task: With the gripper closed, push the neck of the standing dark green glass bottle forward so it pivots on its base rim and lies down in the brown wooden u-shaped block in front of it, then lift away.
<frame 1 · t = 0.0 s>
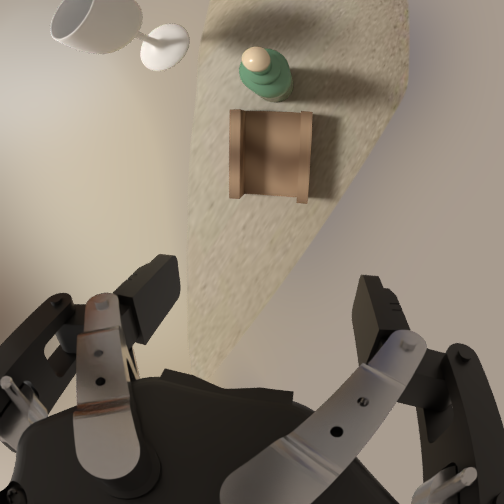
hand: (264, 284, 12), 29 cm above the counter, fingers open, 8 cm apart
bottle: (274, 85, 33), on the counter
brown wooden u-shaped block: (272, 153, 37), on the counter
wineglass: (165, 47, 32), on the counter
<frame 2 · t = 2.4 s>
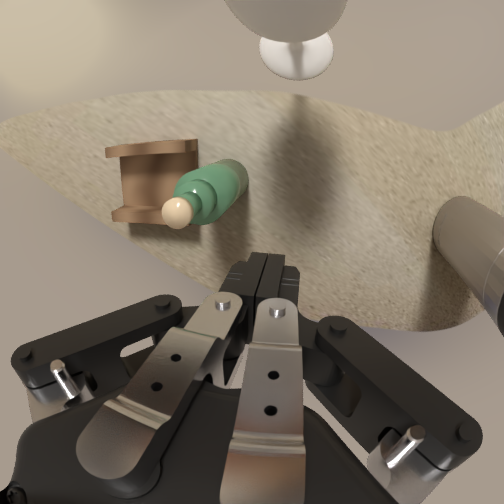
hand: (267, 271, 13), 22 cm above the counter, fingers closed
bottle: (228, 179, 34), on the counter
brown wooden u-shaped block: (157, 178, 36), on the counter
wineglass: (296, 48, 26), on the counter
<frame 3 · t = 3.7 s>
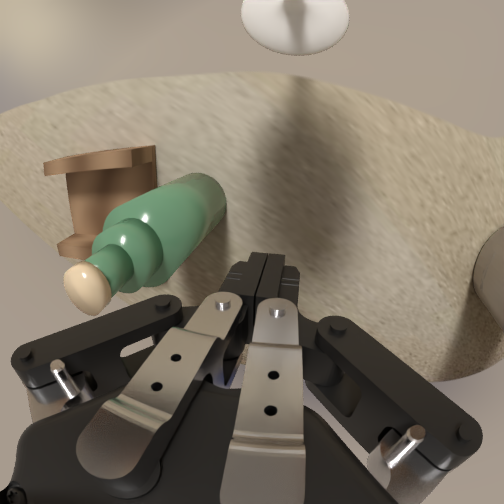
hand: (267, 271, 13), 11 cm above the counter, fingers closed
bottle: (197, 201, 24), on the counter
brown wooden u-shaped block: (109, 200, 25), on the counter
wineglass: (295, 13, 16), on the counter
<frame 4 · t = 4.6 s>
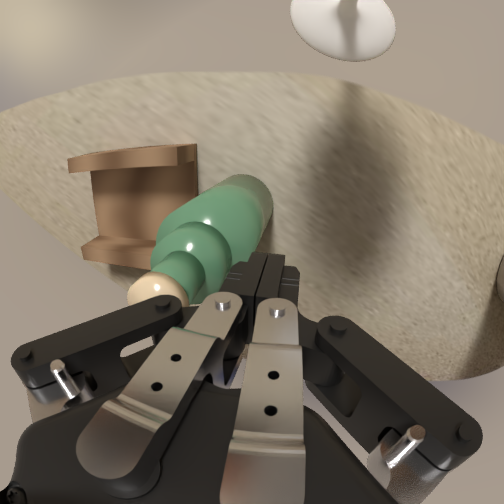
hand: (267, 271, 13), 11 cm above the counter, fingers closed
bottle: (242, 204, 23), on the counter, touching gripper
brown wooden u-shaped block: (141, 200, 25), on the counter
wineglass: (343, 18, 15), on the counter
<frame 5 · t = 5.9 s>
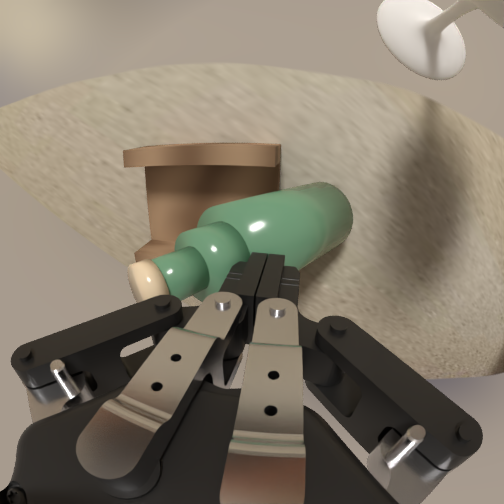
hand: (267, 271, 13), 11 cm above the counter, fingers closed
bottle: (322, 215, 21), point 1 cm above the counter, tilted 32°, touching gripper
brown wooden u-shaped block: (209, 202, 24), on the counter
wineglass: (422, 35, 14), on the counter
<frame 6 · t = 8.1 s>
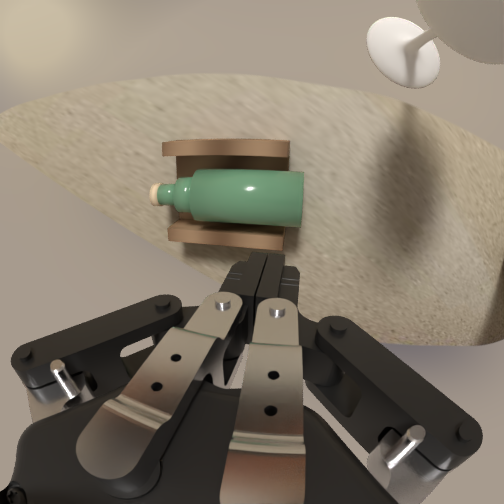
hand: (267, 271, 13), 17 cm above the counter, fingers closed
bottle: (302, 199, 25), point 3 cm above the counter, tilted 90°, touching brown wooden u-shaped block
brown wooden u-shaped block: (230, 186, 29), on the counter
wineglass: (404, 51, 20), on the counter
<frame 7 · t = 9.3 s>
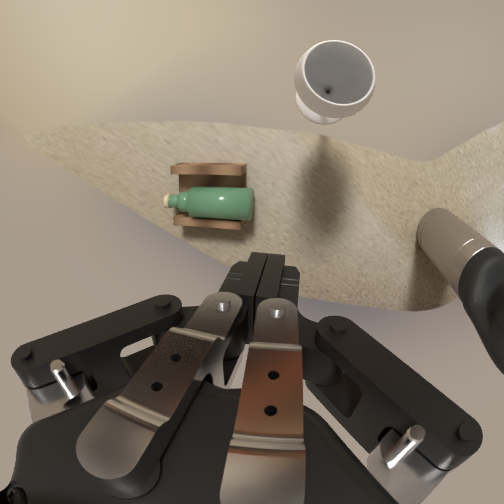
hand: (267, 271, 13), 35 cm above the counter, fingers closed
bottle: (251, 204, 44), point 3 cm above the counter, tilted 90°, touching brown wooden u-shaped block
brown wooden u-shaped block: (212, 192, 48), on the counter
wineglass: (322, 98, 38), on the counter
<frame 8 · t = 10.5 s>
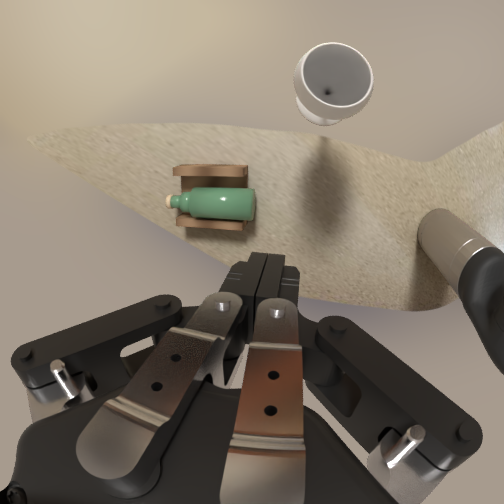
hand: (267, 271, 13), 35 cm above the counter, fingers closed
bottle: (252, 204, 45), point 3 cm above the counter, tilted 90°, touching brown wooden u-shaped block
brown wooden u-shaped block: (214, 193, 48), on the counter
wineglass: (323, 100, 38), on the counter
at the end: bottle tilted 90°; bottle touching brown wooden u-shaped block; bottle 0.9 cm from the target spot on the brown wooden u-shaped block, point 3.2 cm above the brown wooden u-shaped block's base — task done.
